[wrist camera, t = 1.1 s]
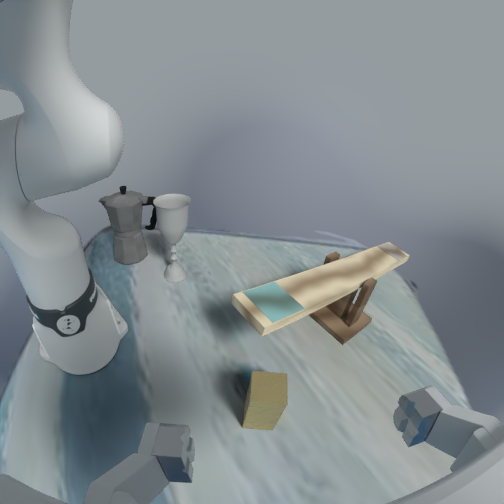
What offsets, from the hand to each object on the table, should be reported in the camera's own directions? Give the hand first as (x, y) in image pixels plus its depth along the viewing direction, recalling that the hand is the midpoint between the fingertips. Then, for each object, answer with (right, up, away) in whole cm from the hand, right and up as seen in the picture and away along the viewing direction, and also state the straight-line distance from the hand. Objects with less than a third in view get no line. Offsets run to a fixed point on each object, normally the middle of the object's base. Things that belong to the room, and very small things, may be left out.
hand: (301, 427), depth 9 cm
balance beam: (+17, +2, +43) cm, 46 cm away
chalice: (-19, +1, +53) cm, 56 cm away
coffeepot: (-31, +6, +57) cm, 65 cm away
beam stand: (+15, -6, +48) cm, 51 cm away
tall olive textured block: (-1, -18, +28) cm, 33 cm away
